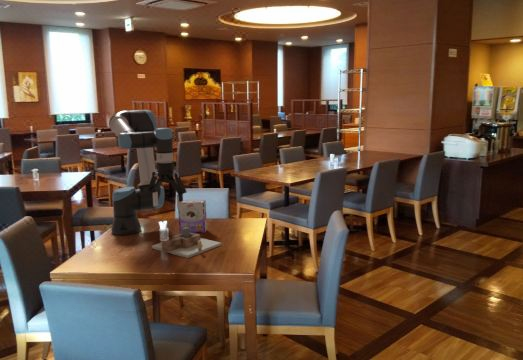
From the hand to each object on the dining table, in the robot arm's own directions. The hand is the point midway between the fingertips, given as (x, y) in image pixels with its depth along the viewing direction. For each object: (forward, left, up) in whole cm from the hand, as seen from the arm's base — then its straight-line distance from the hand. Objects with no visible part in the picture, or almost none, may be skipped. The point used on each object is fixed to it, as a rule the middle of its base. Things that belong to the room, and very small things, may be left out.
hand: (167, 207), depth 216 cm
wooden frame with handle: (+6, +1, -18) cm, 19 cm away
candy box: (-10, +25, -20) cm, 33 cm away
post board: (+6, +5, -19) cm, 21 cm away
